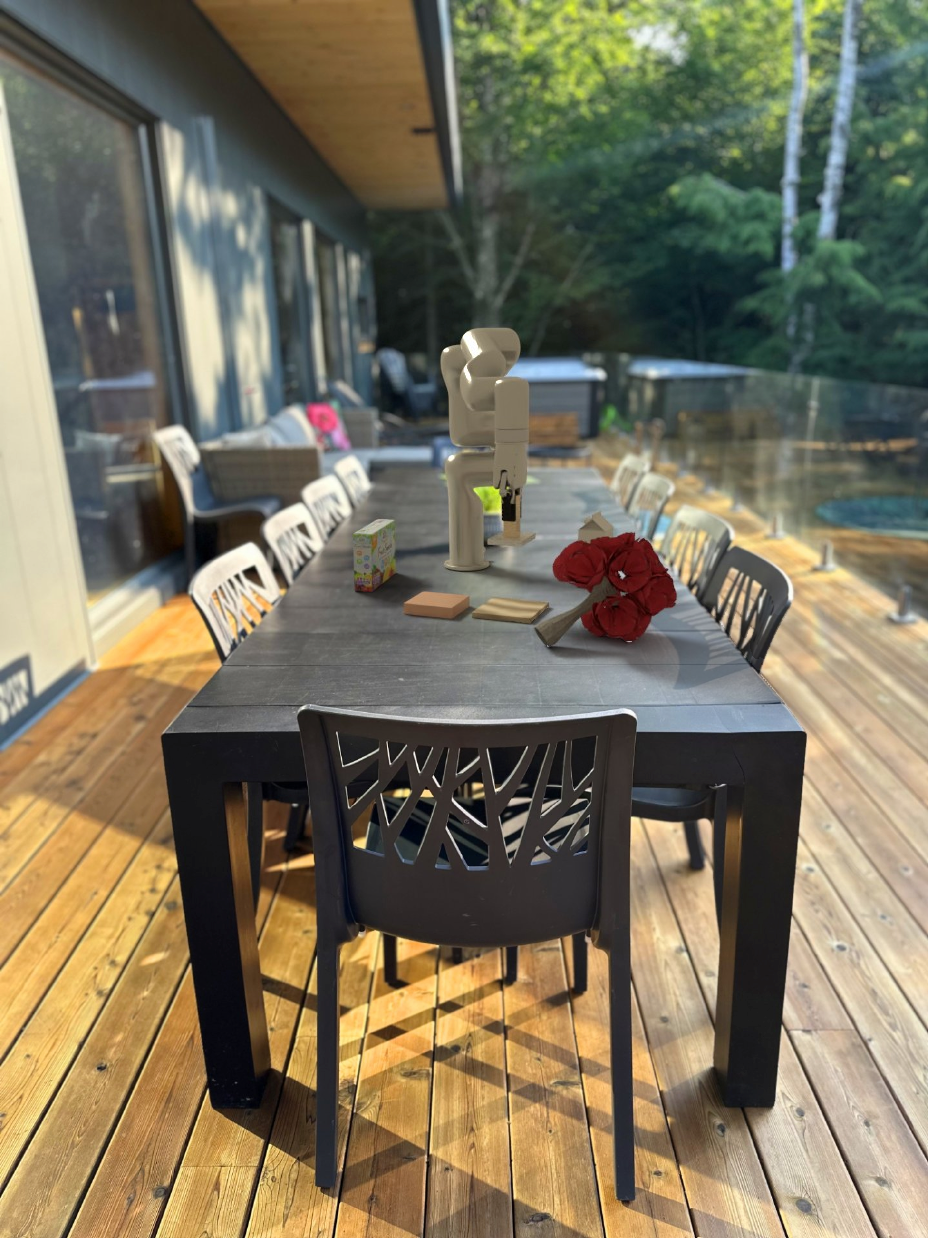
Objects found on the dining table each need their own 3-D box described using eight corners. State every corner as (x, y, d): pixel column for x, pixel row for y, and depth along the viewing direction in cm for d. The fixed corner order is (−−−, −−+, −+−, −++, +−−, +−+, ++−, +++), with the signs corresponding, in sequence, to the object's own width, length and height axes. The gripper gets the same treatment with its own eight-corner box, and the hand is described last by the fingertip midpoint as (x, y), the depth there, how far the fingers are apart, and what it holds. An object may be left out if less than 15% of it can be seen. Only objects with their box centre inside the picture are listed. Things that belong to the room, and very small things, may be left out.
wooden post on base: (502, 536, 211) (502, 491, 208) (535, 538, 208) (535, 492, 205) (487, 544, 202) (487, 497, 199) (521, 546, 199) (521, 499, 196)
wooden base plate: (493, 601, 219) (493, 596, 218) (548, 607, 213) (549, 602, 213) (471, 617, 206) (471, 612, 206) (530, 623, 201) (530, 618, 201)
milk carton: (611, 583, 234) (614, 510, 228) (603, 590, 227) (606, 515, 222) (585, 581, 237) (587, 509, 231) (576, 587, 230) (578, 513, 225)
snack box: (374, 592, 228) (372, 533, 224) (353, 591, 230) (350, 533, 225) (397, 572, 248) (395, 518, 244) (377, 572, 249) (375, 517, 245)
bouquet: (588, 695, 177) (709, 609, 181) (530, 598, 170) (657, 510, 173) (549, 667, 198) (659, 590, 201) (496, 579, 190) (610, 501, 194)
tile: (423, 591, 219) (403, 603, 209) (469, 595, 215) (451, 607, 205) (423, 603, 220) (404, 615, 210) (469, 607, 215) (451, 620, 206)
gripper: (508, 433, 207) (508, 513, 212) (482, 439, 192) (482, 525, 198) (539, 433, 204) (538, 514, 209) (515, 440, 190) (515, 527, 195)
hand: (511, 518), depth 203 cm, fingers closed on wooden post on base, 3 cm apart
